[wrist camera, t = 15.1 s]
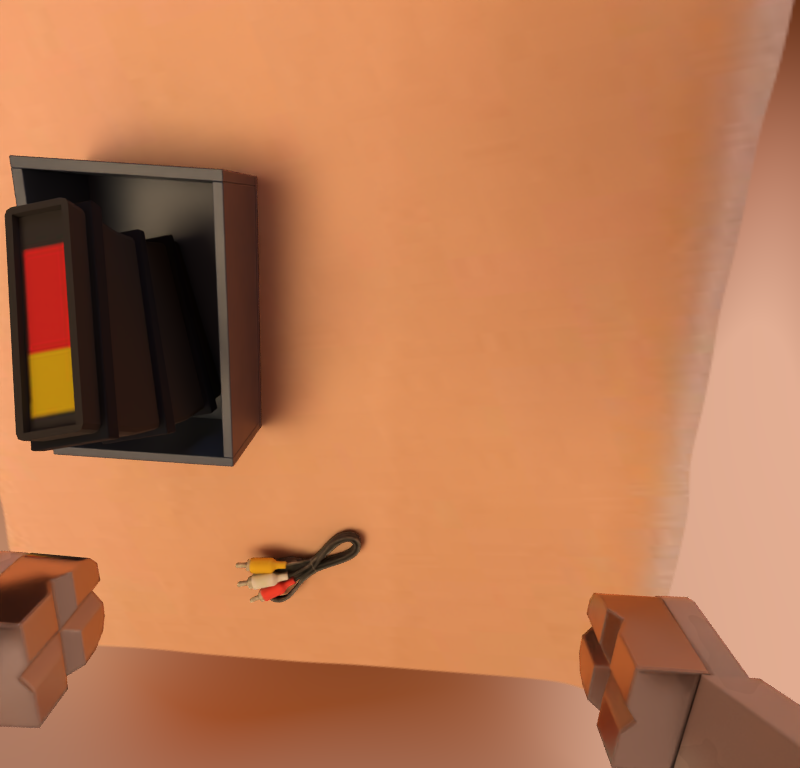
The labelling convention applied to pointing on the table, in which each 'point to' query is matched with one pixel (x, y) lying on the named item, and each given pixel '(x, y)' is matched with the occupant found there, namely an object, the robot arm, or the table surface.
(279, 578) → the composite cable
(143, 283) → the magazine
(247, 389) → the box
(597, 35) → the table surface
